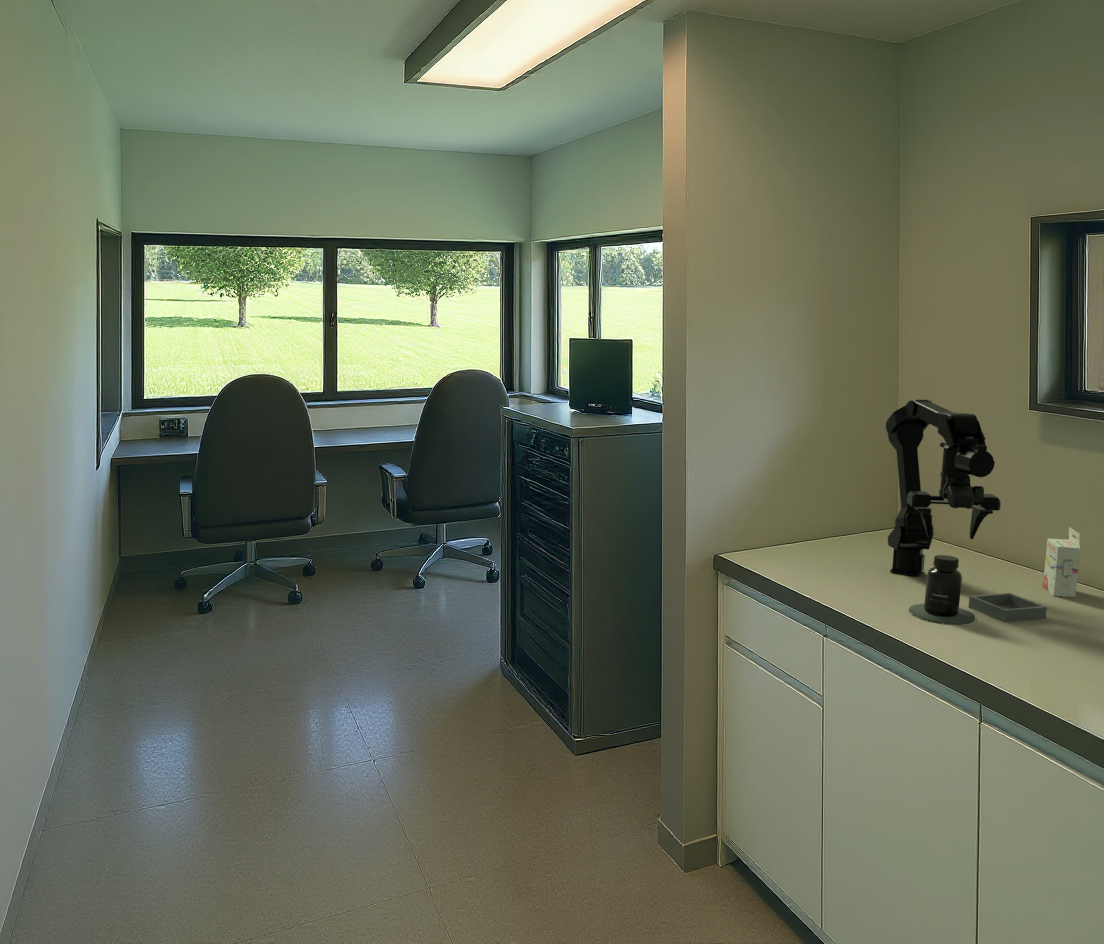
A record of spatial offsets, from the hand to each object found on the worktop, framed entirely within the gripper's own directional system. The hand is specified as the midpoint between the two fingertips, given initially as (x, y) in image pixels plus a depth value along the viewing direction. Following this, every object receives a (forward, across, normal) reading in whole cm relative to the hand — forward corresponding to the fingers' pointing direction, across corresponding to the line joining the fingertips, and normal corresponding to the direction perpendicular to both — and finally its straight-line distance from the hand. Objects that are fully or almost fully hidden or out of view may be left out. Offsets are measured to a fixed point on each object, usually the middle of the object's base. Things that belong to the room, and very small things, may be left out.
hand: (949, 538), depth 214 cm
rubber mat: (+13, -5, -17) cm, 22 cm away
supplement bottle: (+13, -5, -16) cm, 21 cm away
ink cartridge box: (+13, +27, +7) cm, 31 cm away
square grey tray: (+13, +10, -12) cm, 20 cm away
